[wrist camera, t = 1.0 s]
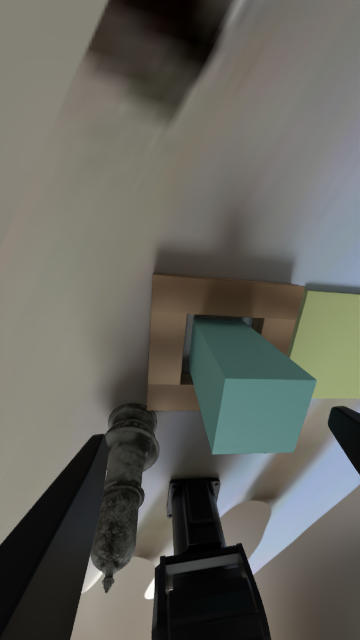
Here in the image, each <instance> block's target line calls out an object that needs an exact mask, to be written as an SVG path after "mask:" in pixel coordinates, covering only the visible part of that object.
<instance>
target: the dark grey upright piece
mask: <svg viewBox="0 0 360 640" xmlns="http://www.w3.org/2000/svg"><path fill="white" fill-rule="evenodd" d="M156 424H157V420H156V416H155V414H154V413H153V411H147V407H146V406H144V405H141V404H132V403H130V404H125V405H122V406H120V407H118V408H117V409H115V410H114V411H113V412H112V414H111V415H110V417H109V420H108V427H109V430H108V431H107V433H106V434H105V437H106V441H107V445H108V450H109V455H108V463H107V470H108V471H107V476H106V480H105V484H104V491H103V498H102V505H101V510H100V515H99V519H98V523H97V527H96V532H95V536H94V540H93V545H92V549H91V559H92V562H93V564H94V566H95V567H96V568H97V569H98V570H100V571H102V572H103V573H104V574H105V578H104V580H103V581H102V584H103V585H104V589H105V593H107V592H108V590H109V589H110V588H111V585H112V584H113V583H114V579H113V574H115V573H116V572H117V571H119V570H120V569H122V568H123V567H124V566H126V565H127V564H128V563H129V561H130V559H131V558H132V556H133V554H134V551H135V546H136V533H137V521H138V509H139V507H140V506H141V505H142V503H143V501H144V495H145V494H144V491H143V489H142V488H141V483H142V473H143V471H146V470H147V469H148V468H150V467H151V466H152V465H153V464H154V463H155V462H156V460H157V458H158V456H159V444H158V442H157V440H156V438H155V435H154V433H153V432H154V431H155V428H156Z"/></svg>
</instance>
